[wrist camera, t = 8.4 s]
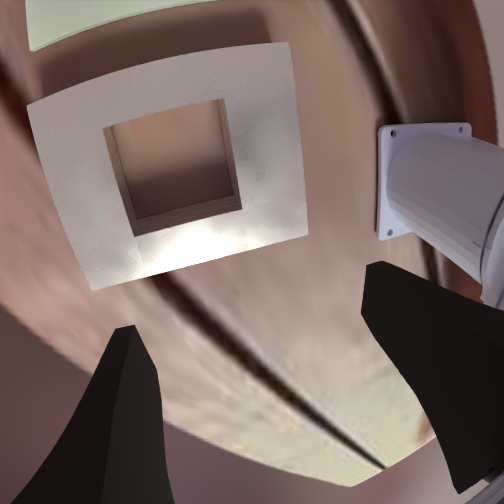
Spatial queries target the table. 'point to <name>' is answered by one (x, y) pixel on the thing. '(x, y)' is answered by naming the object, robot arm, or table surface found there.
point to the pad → (83, 16)
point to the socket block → (189, 217)
